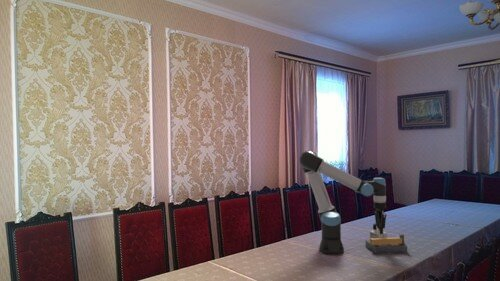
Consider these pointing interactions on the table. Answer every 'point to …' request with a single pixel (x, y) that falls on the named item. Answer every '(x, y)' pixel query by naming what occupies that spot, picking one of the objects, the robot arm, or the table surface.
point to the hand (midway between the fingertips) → (380, 238)
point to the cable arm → (387, 240)
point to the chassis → (386, 248)
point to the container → (376, 232)
